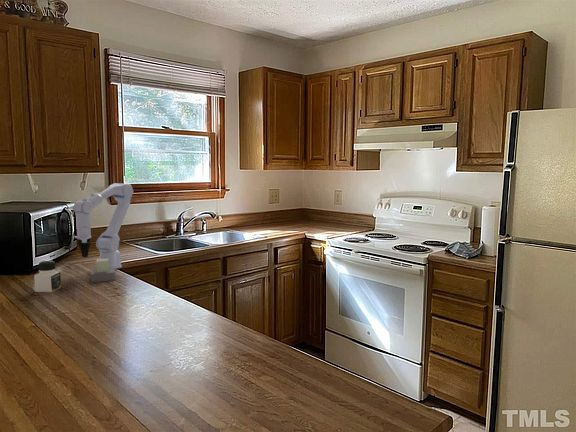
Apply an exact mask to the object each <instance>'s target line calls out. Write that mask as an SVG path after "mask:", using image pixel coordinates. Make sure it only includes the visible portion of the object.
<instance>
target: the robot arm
mask: <svg viewBox="0 0 576 432" xmlns="http://www.w3.org/2000/svg"><path fill="white" fill-rule="evenodd" d="M133 194H134V187H132V185H131V183H118V182H117V183H116V182H114V183H112V184H110V185H109V186H108V187H106V188H105V189H104V190H102V191H101V192H99V193H95V192H93V193H90V195H88V196H87V197H84V198H82V200H76V202H75V203H74V204H73V207H72V210H73V212H74V215H75V219H76V235H75V236H74V239H77V241H78V242H77V245H78V247H79V249H80V252H81V257H82V258H88V256H89V250H90V247H91V243H92V241H91V240H92V233H91V232H92V231H91V230H92V229H91V213H92V212H93V209H94V208H96V207H98V206H101V204H102V203H103V200H105V199H107V198H110V197H111V196H113V198H114V200H115V201H116V202H117V205H116V207H115V209H114V212H113V214H112V216H111V219H110V221H109V223H108V225H107V228H106V230H105V231H104V232H102V233H101V234H100V236H99V237H98V238H97V239H96V241H95V242H96V243H95V246H96V248H97V249H98V252H99V259H107V258H108V265H109V268H113V267H115V270H116V269H120V268H122V267H123V265H122V262H121V261H122V260H121V259H122V257H121V252H120V251H119V250H118V249H119V246H120V240H121V238H120V236H119V231H120V229H121V226H122V224H123V222H124V220H125V216H126V215H127V212H128V210H129V207H130V205H131V199H132V197H133Z"/></svg>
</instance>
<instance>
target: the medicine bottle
mask: <svg viewBox="0 0 576 432" xmlns="http://www.w3.org/2000/svg"><path fill="white" fill-rule="evenodd" d="M33 278H34V279H33V280H34V292H36V293H53V292H55V291H57V290H59V289H61V287H62V282H61V281H62V280H61V278H62V277H61V271H59V270H56V262H55V261H53V260H43V261H40V262H39V263H38V273H36V274H34V277H33Z"/></svg>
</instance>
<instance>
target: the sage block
mask: <svg viewBox="0 0 576 432" xmlns="http://www.w3.org/2000/svg"><path fill="white" fill-rule="evenodd" d="M95 260H96V261H95V267H96V268H95V269H96V270H97V272H109V265H108V258H107V259H100V258H96V259H95Z"/></svg>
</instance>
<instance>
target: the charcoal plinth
mask: <svg viewBox="0 0 576 432" xmlns="http://www.w3.org/2000/svg"><path fill="white" fill-rule="evenodd" d="M89 275H90V283H95V282H108V281H115V280H116V269H115V267H113V268H109V272H97V270H96V268H91V271H90V274H89Z"/></svg>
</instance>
